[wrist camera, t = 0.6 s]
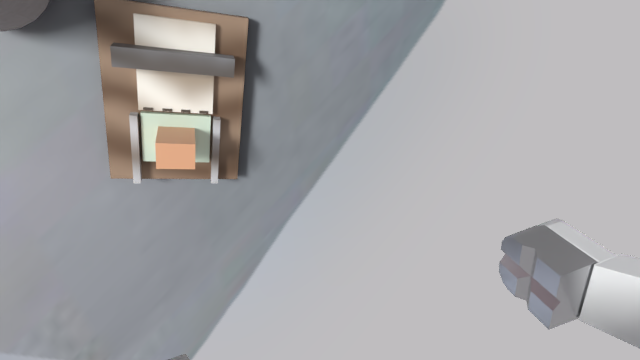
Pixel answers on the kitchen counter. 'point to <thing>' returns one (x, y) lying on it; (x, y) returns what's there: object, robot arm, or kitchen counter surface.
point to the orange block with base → (175, 139)
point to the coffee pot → (20, 12)
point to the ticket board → (170, 81)
